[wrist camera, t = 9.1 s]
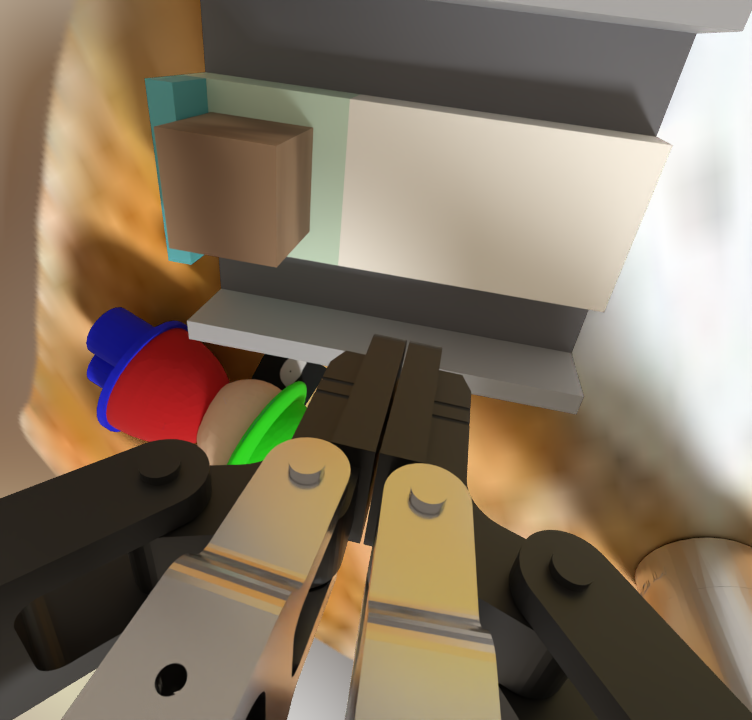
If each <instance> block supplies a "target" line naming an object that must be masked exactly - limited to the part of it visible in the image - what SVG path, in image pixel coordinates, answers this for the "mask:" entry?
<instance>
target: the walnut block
mask: <svg viewBox="0 0 752 720" xmlns="http://www.w3.org/2000/svg"><path fill="white" fill-rule="evenodd" d="M154 133H155V141H156V149H157V157H158V165H159V172H160V180H161V188H162V196H163V204H164V211H165V219H166V227H167V235H168V243H169V248H171V249H176V250H182V251H187V252H193V253H198V254H204V255H210V256H215V257H221V258H226V259H232V260H237V261H243V262H248V263H254V264H260V265H265V266H271V267H276V268H277V266H278V265H279V264H280V263H281V262H282V261H283V260H284V259H285V258H286V257H287V256H288V255H289V253H290V252H291V251H292V250H293V249H294V248H295V247H296V246H297V245H298V244H299V243H300V241H301V240H302V239H303V238H304V237H305V236H306V235H307V234H308V233H309V232H310V206H311V179H312V151H313V127H306V126H300V125H293V124H287V123H280V122H274V121H267V120H261V119H254V118H248V117H241V116H234V115H228V114H221V113H215V112H210V113H206V114H202V115H198V116H194V117H190V118H186V119H182V120H178V121H174V122H170V123H166V124H162V125H158V126H154Z"/></svg>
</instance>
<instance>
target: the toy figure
mask: <svg viewBox="0 0 752 720" xmlns="http://www.w3.org/2000/svg"><path fill="white" fill-rule="evenodd" d="M86 344H87V348H88V350H89V351H90V352H92V353H93V354H95V355H94V357H93V358H92V360H91V362H90V363H89V366H88V369H87V377H88V379H89V380H90V381H92V382H93V383H95V384H96V385H98V386H99V387H101V388H103V389H102V391H101V394H100V397H99V400H98V405H97V418H98V421H99V423H100V424H101V425H102V426H103V427H105V428H107V429H108V430H110V431H113V432H119V431H122V432H124V433H126V434H128V435H130V436H133V437H136V438H139V439H142V440H145V441H149V442H151V441H156V440H163V439H178V440H184V441H188V442H191V443H197V445H198V447H200V448H201V449H202V450H203V451H204V452H205V453H206V455H207V457H208V459H209V463H210V465H240V464H251V463H256V462H260V461H263V460H264V459H265V457H266V456H267V454H268V453H269V452H270V451H271V450H272V449H273V448H274V447H276V446H277V445H279V444H281V443H283V442H285V441H287V440H291V439H292V437H293V435H294V433H295V431H296V429H297V427H298V425H299V423H300V421H301V419H302V417H303V415H304V413H305V411H306V409H307V407H306V406H305V405H306V403H307V402H308V400H309V399H310V397H311V396H312V394H313V392H314V391H315V389H316V388H317V386H318V385H319V383H320V381H321V379H322V378H323V375H324V373H325V371H326V369H327V368H325V367H324V366H323V365H320V364H315V363H310V362H305V361H300V360H295V359H290V358H284V357H279V356H274V355H269V354H264V356H263V358H262V360H261V362H260V364H259V366H258V367H257V369H256V371H255V373H254V375H253V377H252V379H244V380H238V381H234V382H231V383H230V382H229V379H228V377H227V374H226V372H225V371H224V369H223V367H222V365H221V364H220V362H219V361H218V360H217V358H216V357H215V356H214V355H213V353H212V352H211V351H210V350H209V349H208V348H207V347H206V346H205V345H204V344H203V343H202V342H201V341H197V340H192V339H189V334H188V326H187V325H185V324H184V323H182V322H180V321H169V322H165V323H163V324H161V325H158V326H156V327H153V326H152V325H150V324H149V323H147V322H145V321H144V320H142V319H141V318H139V317H137V316H136V315H134V314H132V313H131V312H129V311H128V310H126V309H124V308H122V307H118V308H113V309H111V310H109V311H107V312H106V313H104V314H103V315H102V316H101V317H100V318H99V319H98V320H97V321H96V322H95V323H94V325H93V326H92V327H91V329H90V332H89V334H88V336H87V342H86Z"/></svg>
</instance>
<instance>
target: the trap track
mask: <svg viewBox="0 0 752 720" xmlns="http://www.w3.org/2000/svg"><path fill="white" fill-rule="evenodd" d="M200 3H201V17H202V31H203V45H204V58H205V72H203V73H193V74H183V75H174V76H164V77H154V78H145V85H146V93H147V100H148V108H149V115H150V123H151V131H152V138H153V146H154V153H155V161H156V168H157V176H158V183H159V191H160V198H161V206H162V214H163V221H164V229H165V236H166V244H167V251H168V259H169V261H173V262H179V263H185V264H190V265H192V264H193V263H194V262H196V261H197V260H198V259H200V258H201V257H202V256H203V255H204V254H198V253H193V252H187V251H182V250H176V249H171V248H169V243H168V235H167V227H166V219H165V211H164V204H163V196H162V188H161V180H160V172H159V165H158V157H157V149H156V141H155V133H154V126H158V125H162V124H166V123H170V122H174V121H178V120H182V119H186V118H190V117H194V116H198V115H202V114H206V113H210V112H215V113H221V114H228V115H234V116H241V117H248V118H254V119H261V120H267V121H274V122H280V123H287V124H293V125H300V126H306V127H313V151H312V179H311V206H310V232H309V233H308V234H307V235H306V236H305V237H304V238H303V239H302V240H301V241H300V243H299V244H298V245H297V246H296V247H295V248H294V249H293V250H292V251H291V252H290V253H289V255H288V256H287V257H286V258H285V259H284V260H283V261H282V262H281V263H280V264H279V265H278V266H277V268H276V267H271V266H265V265H260V264H254V263H248V262H243V261H237V260H232V259H226V258H221V257H219V266H220V280H221V289H220V290H219V291H218V292H217V293H216V294H215V295H214V296H213V297H212V298H211V299H210V300H209V301H207V302H206V303H205V304H204V305H203V306H202V307H201V308H200V309H199V310H198V311H197V312H196V313H195V314H194V315H193V316H191V317H190V318H189V319H188V320H187V326H188V334H189V339H192V340H197V341H202V342H207V343H213V344H218V345H223V346H228V347H233V348H238V349H243V350H249V351H254V352H259V353H264V354H269V355H274V356H279V357H284V358H290V359H295V360H300V361H305V362H310V363H315V364H320V365H325V366H328V365H329V363H330V361H332V360H333V359H334V358H336V357H337V356H339V355H340V354H342V353H343V352H345V351H351V352H356V353H360V354H365V355H366V353H367V350H368V348H369V345H370V343H371V340H372V338H373V335H374V334H380V335H385V336H390V337H395V338H399V339H404V340H407V345H406V351H405V356H406V353H407V349H408V345H409V342H410V341H414V342H419V343H424V344H429V345H434V346H439V347H442V355H441V361H440V368H439V370H441V371H446V372H451V373H455V374H460V375H463V377H464V379H465V381H466V383H467V385H468V386H469V388H470V390H471V394H474V395H479V396H484V397H490V398H495V399H500V400H505V401H510V402H515V403H520V404H526V405H531V406H536V407H541V408H546V409H551V410H556V411H561V412H567V413H572V414H577V412H578V410H579V407H580V405H581V403H582V400H583V398H584V395H583V392H582V388H581V385H580V381H579V378H578V374H577V371H576V367H575V364H574V360H573V357H572V350H573V348H574V345H575V343H576V340H577V338H578V335H579V332H580V330H581V327H582V325H583V322H584V320H585V317H586V315H587V312H588V310H594V311H600V312H604V311H605V309H606V306H607V304H608V301H609V299H610V296H611V294H612V292H613V289H614V287H615V284H616V282H617V279H618V277H619V275H620V272H621V270H622V267H623V265H624V262H625V260H626V258H627V255H628V253H629V250H630V248H631V246H632V243H633V241H634V238H635V236H636V233H637V231H638V229H639V226H640V224H641V221H642V219H643V216H644V214H645V212H646V209H647V207H648V204H649V202H650V199H651V197H652V195H653V192H654V190H655V187H656V185H657V182H658V180H659V178H660V175H661V173H662V170H663V168H664V166H665V163H666V161H667V158H668V156H669V153H670V151H671V149H672V146H673V145H671V144H669V143H667V142H665V141H663V140H662V139H660V138H658V137H656V136H657V133H658V131H659V128H660V126H661V123H662V120H663V118H664V115H665V113H666V110H667V108H668V105H669V103H670V100H671V97H672V95H673V92H674V90H675V87H676V85H677V82H678V80H679V77H680V74H681V72H682V69H683V67H684V64H685V62H686V59H687V57H688V54H689V51H690V49H691V46H692V44H693V41H694V39H695V36H696V34H697V33H717V32H739V31H743V29H744V27H745V25H746V22H747V20H748V18H749V15H750V13H751V11H752V0H200ZM405 356H404V360H405ZM403 364H404V361H403ZM402 368H403V367H402Z"/></svg>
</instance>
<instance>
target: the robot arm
mask: <svg viewBox="0 0 752 720" xmlns="http://www.w3.org/2000/svg"><path fill="white" fill-rule="evenodd" d="M406 345H407V340H404V339H399V338H395V337H390V336H385V335H380V334H374V335H373V338H372V340H371V343H370V345H369V348H368V350H367V353H366V355H365V354H360V353H356V352H351V351H345V352H343V353H342V354H340V355H339V356H337V357H336V358H334V359H333V360H332V361H330V363H329V365H328V367H327V369H326V371H325V373H324V375H323V378H322V379H321V381H320V383H319V385H318V387H317V390H316V392H315V393H314V395H313V397H312V399H311V401H310V403H309V405H308V407H307V409H306V411H305V413H304V415H303V417H302V419H301V421H300V423H299V425H298V427H297V429H296V431H295V433H294V435H293V437H292V439H291V440H287V441H285V442H283V443H281V444H279V445H277V446H276V447H274V448H273V449H272V450H271V451H270V452H269V453H268V454H267V456H266V457H265V459H264V460H263V461H260V462H256V463H251V464H240V465H210V463H209V459H208V457H207V455H206V453H205V452H204V451H203V450H202V449H201V448H200V447H198V446H197V445H195V444H193V443H191V442H188V441H184V440H178V439H163V440H156V441H151V442H148V443H145V444H142V445H140V446H137V447H134V448H132V449H129V450H127V451H124V452H121V453H119V454H116V455H113V456H111V457H108V458H105V459H103V460H100V461H98V462H95V463H92V464H90V465H87V466H84V467H82V468H79V469H77V470H74V471H71V472H69V473H66V474H63V475H61V476H58V477H56V478H53V479H50V480H48V481H45V482H42V483H40V484H37V485H34V486H32V487H29V488H27V489H24V490H22V491H19V492H16V493H14V494H11V495H8V496H6V497H3V498H0V720H13V719H14V718H16V717H18V716H19V715H21V714H23V713H24V712H26V711H28V710H29V709H31V708H32V707H34V706H35V705H37V704H39V703H41V702H42V701H44V700H46V699H47V698H49V697H50V696H52V695H54V694H56V693H57V692H59V691H60V690H62V689H64V688H65V687H67V686H69V685H70V684H72V683H73V682H75V681H77V680H78V679H80V678H82V677H83V676H85V675H87V674H88V673H90V672H92V671H93V670H95V669H96V671H95V672H94V674H93V675H92V677H91V678H90V679H89V681H88V682H87V684H86V685H85V686H84V688H83V689H82V691H81V692H80V694H79V695H78V696H77V698H76V699H75V700H74V702H73V703H72V705H71V706H70V708H69V709H68V710H67V712H66V713H65V715H64V716H63V717H62V719H61V720H287V717H288V714H289V710H290V705H291V701H292V698H293V694H294V691H295V688H296V685H297V682H298V679H299V676H300V674H301V671H302V668H303V666H304V663H305V660H306V658H307V655H308V652H309V650H310V647H311V644H312V642H313V639H314V636H315V634H316V631H317V628H318V626H319V623H320V620H321V618H322V615H323V612H324V610H325V607H326V604H327V602H328V599H329V596H330V594H331V591H332V588H333V586H334V583H335V580H336V576H337V571H338V570H339V568H340V566H341V563H342V560H343V556H344V553H345V549H346V546H347V542H348V541H352V542H356V543H360V541H361V537H362V534H363V530H364V526H365V522H366V518H367V514H368V510H369V507H370V511H369V516H368V522H367V528H366V533H365V539H364V544H365V545H369V546H372V551H371V556H370V562H369V567H368V572H367V577H366V582H365V587H364V594H363V600H362V607H361V614H360V621H359V628H358V635H357V641H356V648H355V655H354V662H353V669H352V676H351V682H350V689H349V696H348V702H347V709H346V715H345V720H752V547H750V546H747V545H745V544H742V543H739V542H736V541H732V540H727V539H720V538H693V539H687V540H681V541H677V542H673V543H670V544H667V545H664V546H662V547H660V548H658V549H656V550H654V551H653V552H651V553H650V554H649V555H647V556H646V557H645V558H644V559H643V560H642V561H641V562H640V563H639V565H638V567H637V569H636V572H635V582H636V585H637V589H638V591H637V590H636V589H635V588H634V587H633V586H632V585H631V584H630V583H629V582H628V581H627V580H626V579H625V578H624V577H623V576H622V574H621V573H620V572H619V571H618V570H617V569H616V568H615V567H614V566H613V565H612V564H611V563H610V562H609V561H608V560H607V559H606V557H605V556H604V555H603V554H602V553H600V552H599V551H598V550H597V549H596V548H595V547H594V546H592V545H591V544H590V543H588V542H586V541H585V540H583V539H581V538H579V537H577V536H575V535H573V534H570V533H567V532H563V531H558V530H544V531H540V532H536V533H534V534H532V535H531V536H529V537H528V538H527V539H525V538H523V537H521V536H519V535H517V534H515V533H513V532H511V531H509V530H508V529H506V528H504V527H502V526H500V525H499V524H497V523H495V522H494V521H492V520H491V519H490V518H488V517H487V516H486V515H485V514H484V513H483V512H482V511H481V510H480V509H479V508H478V507H477V506H476V504H475V503H474V501H473V500H472V498H471V496H470V493H469V491H468V487H467V464H468V445H469V423H470V406H471V390H470V388H469V386H468V385H467V383H466V381H465V379H464V377H463V375H460V374H455V373H451V372H446V371H441V370H439V368H440V361H441V355H442V347H439V346H434V345H429V344H424V343H419V342H414V341H410V342H409V345H408V349H407V353H406V356H405V351H406ZM404 356H405V360H404ZM403 361H404V364H403ZM402 367H403V368H402ZM370 503H371V505H370Z"/></svg>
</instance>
